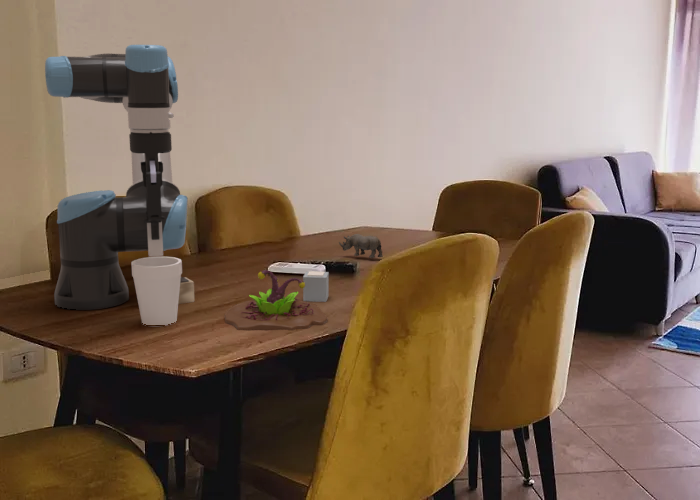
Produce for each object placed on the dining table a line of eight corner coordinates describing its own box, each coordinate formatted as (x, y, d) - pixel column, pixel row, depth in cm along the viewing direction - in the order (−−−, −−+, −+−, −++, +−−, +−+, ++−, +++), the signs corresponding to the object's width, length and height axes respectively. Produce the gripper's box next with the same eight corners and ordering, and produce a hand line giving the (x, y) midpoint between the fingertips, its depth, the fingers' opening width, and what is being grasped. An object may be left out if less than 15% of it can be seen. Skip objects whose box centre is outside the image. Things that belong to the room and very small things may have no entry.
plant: (219, 313, 159) (217, 261, 157) (311, 307, 164) (310, 256, 162) (231, 343, 140) (229, 284, 138) (334, 335, 145) (334, 278, 143)
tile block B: (303, 303, 165) (303, 275, 164) (306, 297, 170) (306, 270, 169) (326, 304, 165) (326, 276, 164) (328, 298, 170) (328, 270, 169)
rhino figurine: (342, 251, 220) (343, 230, 219) (384, 256, 214) (385, 235, 212) (335, 253, 217) (335, 232, 216) (377, 259, 210) (378, 238, 209)
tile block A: (172, 307, 162) (170, 283, 161) (164, 302, 166) (163, 278, 165) (194, 304, 165) (193, 280, 163) (186, 299, 169) (185, 275, 168)
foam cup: (162, 316, 155) (159, 254, 152) (194, 325, 150) (191, 260, 147) (124, 328, 147) (120, 262, 145) (156, 337, 142) (153, 269, 140)
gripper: (173, 133, 136) (178, 261, 141) (168, 128, 148) (173, 247, 153) (129, 133, 134) (136, 263, 139) (128, 129, 146) (134, 249, 151)
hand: (155, 255), depth 146 cm, fingers closed
